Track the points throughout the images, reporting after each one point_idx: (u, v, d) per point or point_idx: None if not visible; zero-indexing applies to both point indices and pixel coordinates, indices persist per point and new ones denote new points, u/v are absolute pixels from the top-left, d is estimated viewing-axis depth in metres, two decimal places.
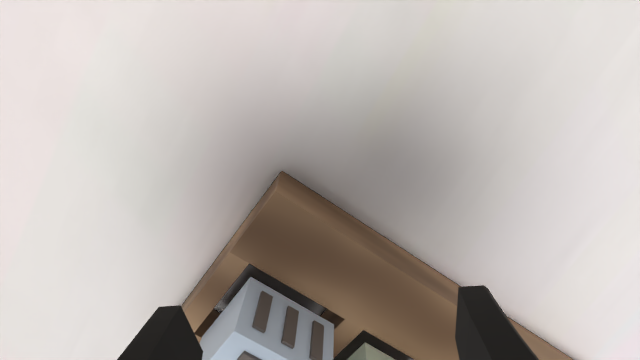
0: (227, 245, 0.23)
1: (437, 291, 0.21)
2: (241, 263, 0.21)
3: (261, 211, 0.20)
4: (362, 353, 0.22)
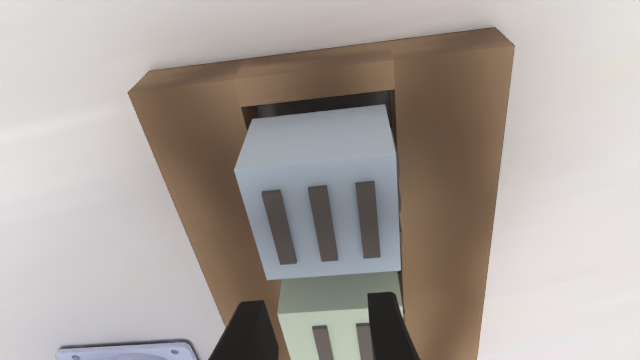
0: (360, 47, 0.17)
1: (489, 245, 0.20)
2: (388, 82, 0.15)
3: (476, 51, 0.15)
4: None
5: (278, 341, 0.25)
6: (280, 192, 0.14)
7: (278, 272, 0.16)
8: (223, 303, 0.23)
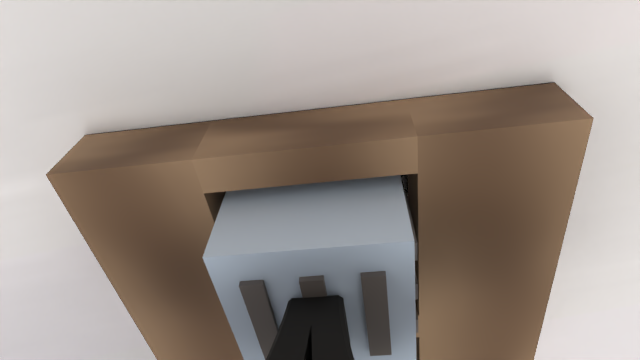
0: (369, 109, 0.12)
1: (533, 351, 0.16)
2: (409, 164, 0.11)
3: (537, 125, 0.10)
4: None
5: None
6: (263, 282, 0.11)
7: None
8: None
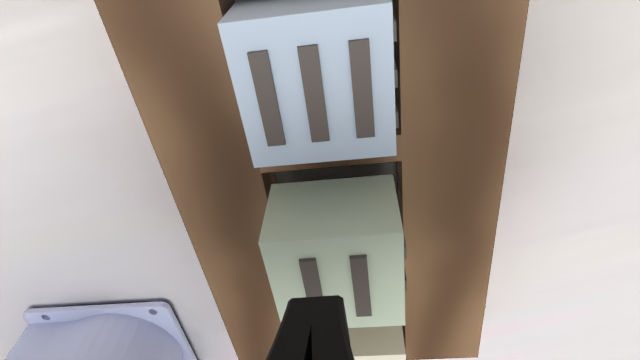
0: None
1: (501, 179, 0.18)
2: None
3: None
4: (388, 182, 0.17)
5: (264, 295, 0.22)
6: (267, 53, 0.13)
7: (265, 157, 0.15)
8: (202, 249, 0.20)
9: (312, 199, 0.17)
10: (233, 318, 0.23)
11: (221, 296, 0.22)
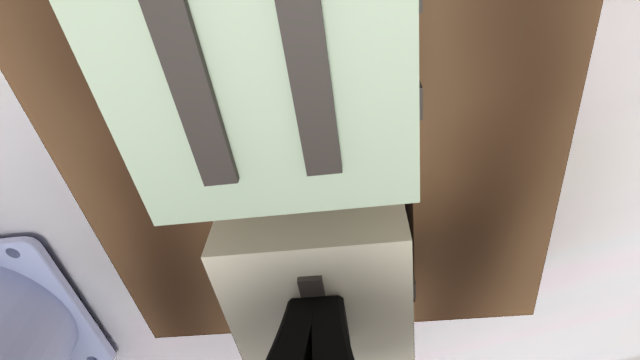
0: None
1: None
2: None
3: None
4: None
5: None
6: None
7: None
8: (35, 101, 0.11)
9: None
10: (123, 250, 0.14)
11: (93, 206, 0.13)
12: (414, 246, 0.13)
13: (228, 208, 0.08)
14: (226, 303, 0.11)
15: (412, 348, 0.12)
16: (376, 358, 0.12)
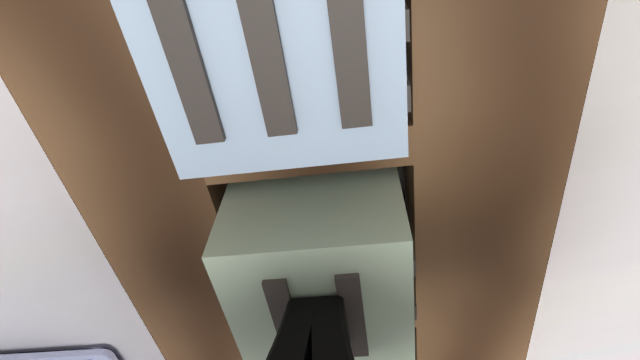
0: None
1: (561, 189, 0.12)
2: None
3: None
4: (389, 170, 0.12)
5: (227, 348, 0.17)
6: None
7: (197, 162, 0.09)
8: (137, 290, 0.15)
9: (284, 195, 0.12)
10: None
11: (170, 349, 0.17)
12: None
13: None
14: None
15: None
16: None
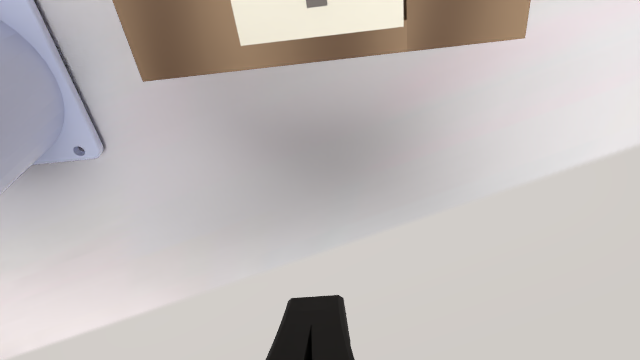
0: None
1: None
2: None
3: None
4: None
5: None
6: None
7: None
8: None
9: None
10: None
11: None
12: None
13: None
14: None
15: None
16: (366, 13, 0.13)
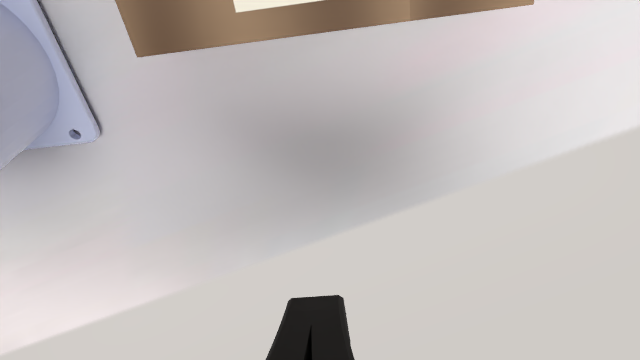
0: None
1: None
2: None
3: None
4: None
5: None
6: None
7: None
8: None
9: None
10: None
11: None
12: None
13: None
14: None
15: None
16: None
